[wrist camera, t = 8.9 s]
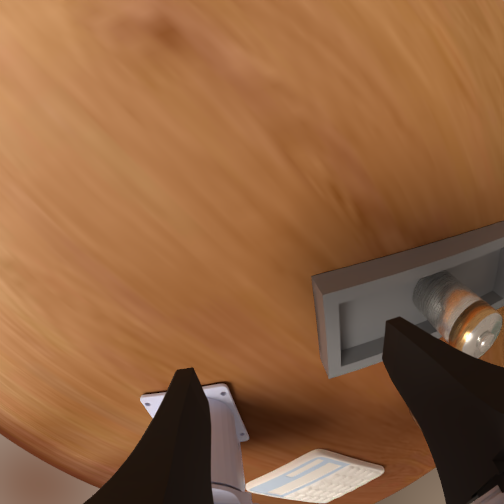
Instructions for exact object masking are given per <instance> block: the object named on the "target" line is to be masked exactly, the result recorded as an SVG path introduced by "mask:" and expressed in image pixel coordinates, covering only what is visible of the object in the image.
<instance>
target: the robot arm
mask: <svg viewBox="0 0 504 504" xmlns="http://www.w3.org/2000/svg"><path fill="white" fill-rule="evenodd" d="M382 360H383V362H384V365H385V367H386V369H387V371H388V374H389V376H390V378H391V380H392V382H393V383H394V385H395V386H396V388H397V390H398V391H399V393H400V395H401V396H402V398H403V399H404V401H405V403H406V404H407V406H408V407H409V409H410V411H411V412H412V414H413V415H414V417H415V419H416V420H417V422H418V424H419V426H420V428H421V430H422V432H423V434H424V437H425V439H426V441H427V444H428V446H429V449H430V451H431V454H432V456H433V459H434V462H435V465H436V468H437V470H438V474H439V477H440V480H441V484H442V488H443V492H444V496H445V500H446V504H470V503H471V504H504V368H503V367H500V366H497V365H494V364H491V363H488V362H485V361H483V360H480V359H478V358H475V357H473V356H471V355H468V354H466V353H464V352H462V351H460V350H458V349H456V348H454V347H452V346H450V345H448V344H447V343H445V342H443V341H441V340H439V339H438V338H436V337H434V336H432V335H431V334H429V333H427V332H426V331H424V330H422V329H421V328H419V327H417V326H416V325H414V324H412V323H411V322H409V321H407V320H405V319H404V318H402V317H400V316H399V317H396V318H393V319H390V320H387V321H386V325H385V336H384V345H383V354H382ZM140 401H141V403H142V404H143V405H144V407H145V408H146V410H147V411H148V412H149V414H150V415H151V416H152V418H153V419H152V421H151V423H150V425H149V426H148V428H147V430H146V431H145V433H144V435H143V436H142V438H141V440H140V441H139V443H138V444H137V446H136V447H135V449H134V450H133V451H132V453H131V454H130V456H129V457H128V458H127V460H126V461H125V462H124V463H123V464H122V466H121V467H120V468H119V469H118V471H117V472H116V473H115V474H114V475H113V476H112V477H111V478H110V480H109V481H108V482H107V483H105V484H104V485H103V486H102V487H101V488H100V489H99V490H98V491H97V492H96V493H95V494H94V495H93V496H92V497H91V498H90V499H88V500H87V501H86V502H85V503H84V504H258V503H252V497H251V493H250V492H245V479H244V471H243V462H242V454H241V446H240V442H243V441H247V440H249V435H248V432H247V430H246V428H245V426H244V423H243V421H242V419H241V417H240V414H239V412H238V410H237V407H236V405H235V402H234V400H233V398H232V395H231V393H230V391H229V388H228V386H227V385H226V384H223V383H221V384H215V385H209V386H204V387H202V386H201V384H200V382H199V379H198V377H197V375H196V373H195V370H194V368H186V369H180V370H177V371H176V372H175V374H174V376H173V379H172V381H171V383H170V385H169V387H168V390H167V392H163V393H155V394H146V395H142V396H141V398H140ZM476 499H477V500H476ZM473 501H474V502H473Z"/></svg>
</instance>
